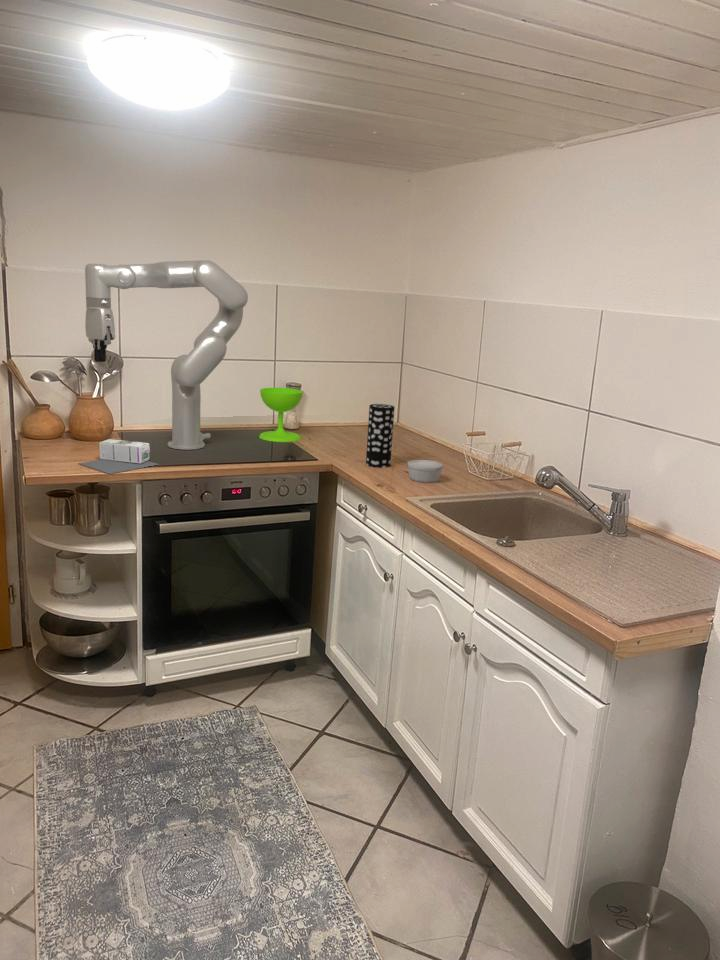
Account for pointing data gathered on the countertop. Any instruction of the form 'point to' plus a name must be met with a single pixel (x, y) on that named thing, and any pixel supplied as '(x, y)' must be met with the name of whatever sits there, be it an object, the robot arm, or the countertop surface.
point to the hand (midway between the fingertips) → (100, 361)
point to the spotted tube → (380, 435)
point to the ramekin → (424, 471)
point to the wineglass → (280, 411)
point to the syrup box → (124, 451)
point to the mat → (115, 465)
